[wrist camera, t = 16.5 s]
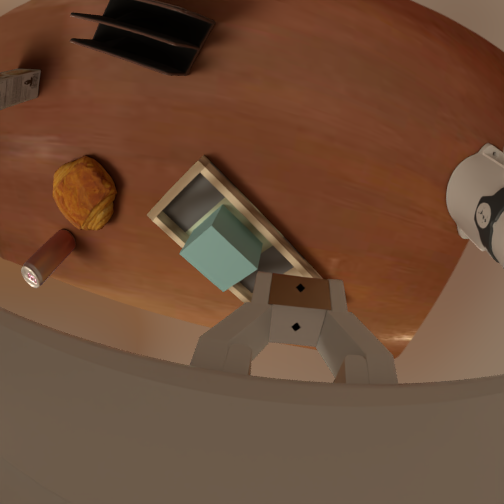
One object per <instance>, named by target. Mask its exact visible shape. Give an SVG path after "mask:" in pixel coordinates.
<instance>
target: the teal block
mask: <svg viewBox="0 0 504 504" xmlns="http://www.w3.org/2000/svg"><path fill="white" fill-rule="evenodd" d="M262 245H263V243H262V242H261V241H260V240H259V239H258V238H257V237H256V236H255V235H254V234H253V233H252V232H251V231H250V230H249V229H248V228H247V227H246V226H244V225H243V224H242V223H241V222H240V221H239V220H238V219H237V218H236V217H235V216H234V215H233V214H232V213H231V212H230V211H229V210H228V209H227V208H226V207H225V206H224V205H223V204H222V205H221V206H220V207H219V208H218V209H217V210H215V211H214V212H213V213H212V214H211V215H210V216H209V217H208V218H206V219H205V220H204V221H203V222H202V223H201V224H200V225H199V226H197V227H196V228H195V229H194V230H193V231H192V233H191V235H190V236H189V238H188V240H187V241H186V243H185V245H184V247H183V248H182V250H181V252H180V253H179V254H180V255H182V256H183V257H184V258H185V259H186V260H187V261H188V262H189V263H191V264H192V265H193V266H194V267H195V268H196V269H197V270H199V271H200V272H201V273H202V274H203V275H204V276H205V277H207V278H208V279H209V280H210V281H211V282H212V283H213V284H215V285H216V286H217V287H218V288H219V289H220V290H222V291H223V292H224V291H226V290H227V289H229V288H230V287H232V286H233V285H235V284H236V283H238V282H239V281H241V280H242V279H244V278H245V277H247V276H248V275H250V274H251V273H253V272H254V271H256V270H257V269H258V265H259V260H260V255H261V250H262Z"/></svg>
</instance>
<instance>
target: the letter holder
mask: <svg viewBox="0 0 504 504" xmlns="http://www.w3.org/2000/svg"><path fill="white" fill-rule="evenodd" d="M70 16H72V17H75V18H80V19H84V20H89V21H93V22H97V23H99V25H98V27H97V30H96V32H95V34H94V37H93V39H92V40H90V39H76V38H72V39H71V40H70V42H72V43H74V44H77V45H80V46H84V47H87V48H90V49H93V50H96V51H99V52H102V53H105V54H108V55H111V56H114V57H117V58H120V59H123V60H126V61H129V62H132V63H134V64H137V65H140V66H142V67H145V68H148V69H151V70H154V71H157V72H159V73H162V74H165V75H171V76H172V75H177V76H187V75H188V72H189V71H190V69H191V67H192V65H193V63H194V61H195V59H196V57H197V55H198V53H199V51H200V50H201V48H202V46H203V44H204V42H205V41H206V39H207V37H208V35H209V34H210V32H211V30H212V28H213V27H214V25H215V21H214V20H211V19H209V18H207V17H205V16H203V15H200V14H198V13H195V12H191V11H189V10H187V9H184V8H182V7H178V6H175V5H171V4H167V3H164V2H160V1H156V0H110V1H109V3H108V5H107V7H106V10H105V12H104V14H103V16H100V15H91V14H82V13H71V14H70Z"/></svg>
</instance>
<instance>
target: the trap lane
mask: <svg viewBox="0 0 504 504" xmlns="http://www.w3.org/2000/svg"><path fill="white" fill-rule="evenodd" d="M222 204H223V205H224V206H225V207H226V208H227V209H228V210H229V211H230V212H231V213H232V214H233V215H234V216H235V217H236V218H237V219H238V220H239V221H240V222H241V223H242V224H243V225H244V226H246V227H247V228H248V229H249V230H250V231H251V232H252V233H253V234H254V235H255V236H256V237H257V238H258V239H259V240H260V241H261V242H262V243H263V245H262V250H261V255H260V260H259V265H258V269H257V270H256V271H254V272H253V273H251V274H250V275H248V276H247V277H245V278H244V279H242V280H241V281H239V282H238V283H236V284H235V285H233V286H232V287H230V288H229V290H230V291H231V292H232V293H233V294H235V295H236V296H237V297H238V298H239V299H240V300H241V301H243V302H244V303H246V302H251V300H252V295H253V290H254V285H255V280H256V276H257V273H258V271H260V272H268V273H272V274H273V273H277V274H285V275H293V276H301V277H309V278H320V279H323V278H322V277H321V276H320V275H319V274H318V273H317V271H316V270H315V269H314V268H313V267H312V266H311V265H310V264H309V263H308V262H307V261H306V260H305V259H304V257H303V256H302V255H301V254H300V253H299V252H298V251H297V250H296V249H295V248H294V247H293V246H292V245H291V244H290V243H289V241H288V240H287V239H286V238H285V237H284V236H283V235H282V234H281V233H280V232H279V231H278V230H277V229H276V228H275V227H274V226H273V225H272V224H271V223H270V221H269V220H268V219H267V218H266V217H265V216H264V215H263V214H262V213H261V212H260V211H259V210H258V209H257V208H256V207H255V206H254V205H253V204H252V203H251V202H250V201H249V200H248V199H247V198H246V197H245V196H244V195H243V194H242V193H241V192H240V191H239V190H238V189H237V188H236V187H235V185H234V184H233V183H232V182H231V181H230V180H229V179H228V178H227V177H226V176H225V175H224V174H223V173H222V172H221V171H220V170H219V169H218V168H217V167H216V166H215V165H214V164H213V163H212V162H211V161H210V160H209V159H208V158H207V157H206V156H205V155H204V156H202V157H201V158H200V159H199V160H198V161H197V162H196V163H195V164H194V165H193V166H192V167H191V168H190V169H189V170H188V171H187V172H186V173H185V174H184V175H183V176H182V177H181V178H180V180H179V181H178V182H177V183H176V184H175V185H174V186H173V187H172V188H171V189H170V190H169V191H168V192H167V193H166V194H165V195H164V196H163V197H162V199H161V200H160V201H159V202H158V203H157V204H156V205H155V206H154V207H153V208H152V210H151V211H150V212H149V213H148V214H147V216H148V217H149V218H150V219H151V220H152V221H153V222H155V223H156V224H157V225H158V226H159V227H160V228H161V229H162V230H163V231H164V232H165V233H166V234H167V235H169V236H170V237H171V238H172V239H173V240H174V241H175V242H176V243H177V244H178V245H179V246H180V247H182V248H183V247H184V245H185V243H186V241H187V240H188V238H189V236H190V235H191V233H192V231H193V230H194V229H195V228H196V227H197V226H199V225H200V224H201V223H202V222H203V221H204V220H205V219H206V218H208V217H209V216H210V215H211V214H212V213H213V212H214V211H215V210H217V209H218V208H219V207H220V206H221V205H222Z"/></svg>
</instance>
